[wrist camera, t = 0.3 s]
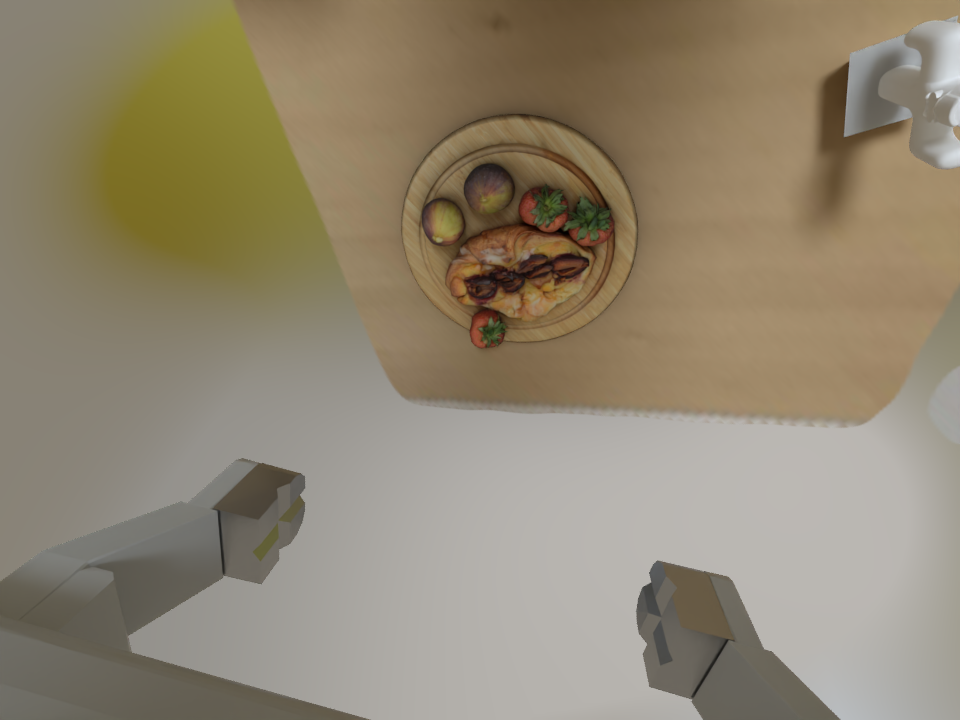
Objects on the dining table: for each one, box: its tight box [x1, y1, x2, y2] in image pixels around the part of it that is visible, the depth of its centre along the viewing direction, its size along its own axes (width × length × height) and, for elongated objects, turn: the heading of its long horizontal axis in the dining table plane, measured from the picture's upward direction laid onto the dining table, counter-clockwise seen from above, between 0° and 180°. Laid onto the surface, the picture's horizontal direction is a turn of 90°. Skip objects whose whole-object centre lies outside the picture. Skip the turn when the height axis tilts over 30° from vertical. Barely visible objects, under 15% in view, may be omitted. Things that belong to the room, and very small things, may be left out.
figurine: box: [844, 16, 960, 169], centre depth 37 cm, size 7×9×15 cm
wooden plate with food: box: [401, 114, 638, 348], centre depth 58 cm, size 32×32×8 cm
